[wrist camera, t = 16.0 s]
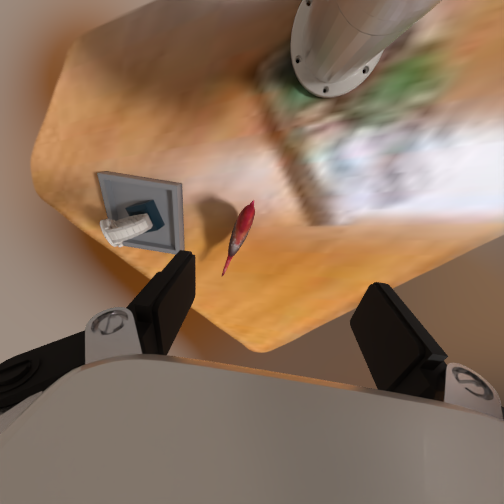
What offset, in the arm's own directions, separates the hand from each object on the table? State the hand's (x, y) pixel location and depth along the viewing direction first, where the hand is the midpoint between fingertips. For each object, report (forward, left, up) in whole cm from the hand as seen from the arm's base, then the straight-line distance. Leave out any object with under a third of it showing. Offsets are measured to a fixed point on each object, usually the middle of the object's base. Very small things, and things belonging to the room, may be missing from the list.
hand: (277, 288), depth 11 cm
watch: (+10, -24, -30) cm, 40 cm away
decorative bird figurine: (+10, -5, -31) cm, 32 cm away
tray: (+10, -25, -30) cm, 41 cm away
